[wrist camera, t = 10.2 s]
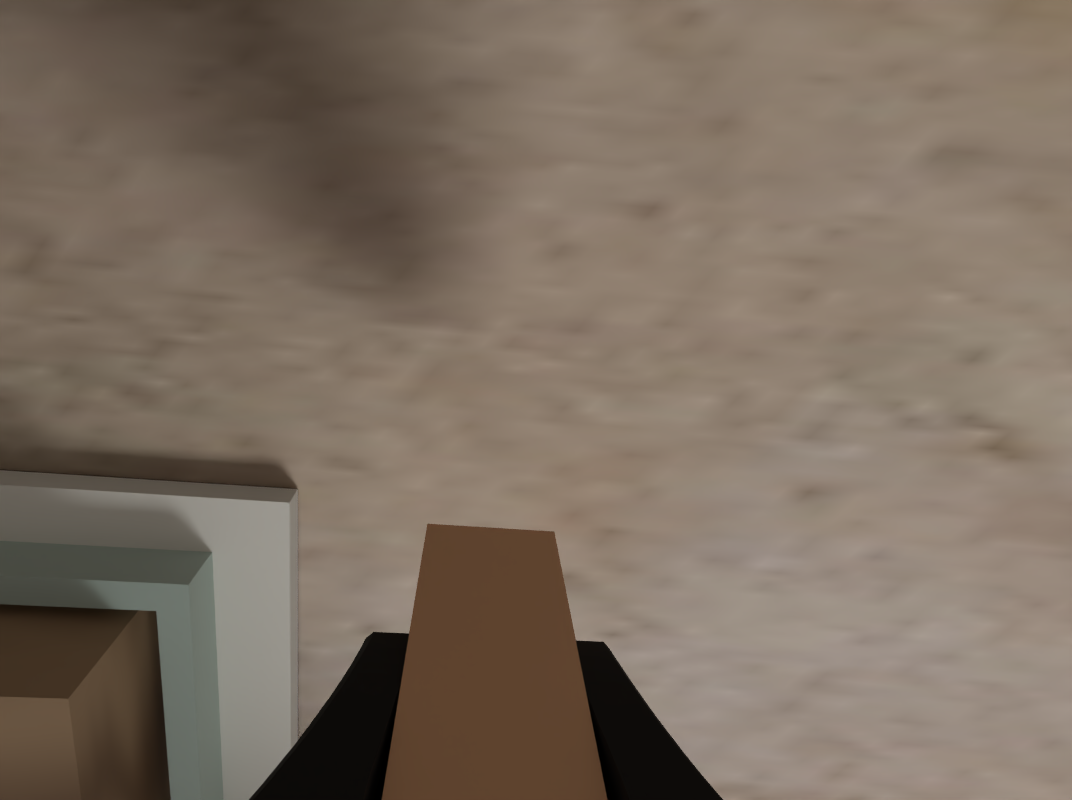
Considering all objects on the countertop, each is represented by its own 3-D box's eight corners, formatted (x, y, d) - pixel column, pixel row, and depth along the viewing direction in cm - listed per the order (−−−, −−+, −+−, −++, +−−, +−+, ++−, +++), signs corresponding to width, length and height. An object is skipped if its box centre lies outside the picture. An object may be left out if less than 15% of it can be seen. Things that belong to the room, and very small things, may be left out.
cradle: (298, 948, 24) (279, 1026, 22) (-70, 950, 22) (-129, 1033, 20) (298, 489, 18) (272, 531, 16) (-191, 458, 17) (-289, 499, 15)
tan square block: (539, 637, 13) (587, 1021, 7) (419, 632, 13) (364, 1024, 7) (554, 531, 13) (618, 858, 7) (427, 523, 13) (371, 858, 6)
